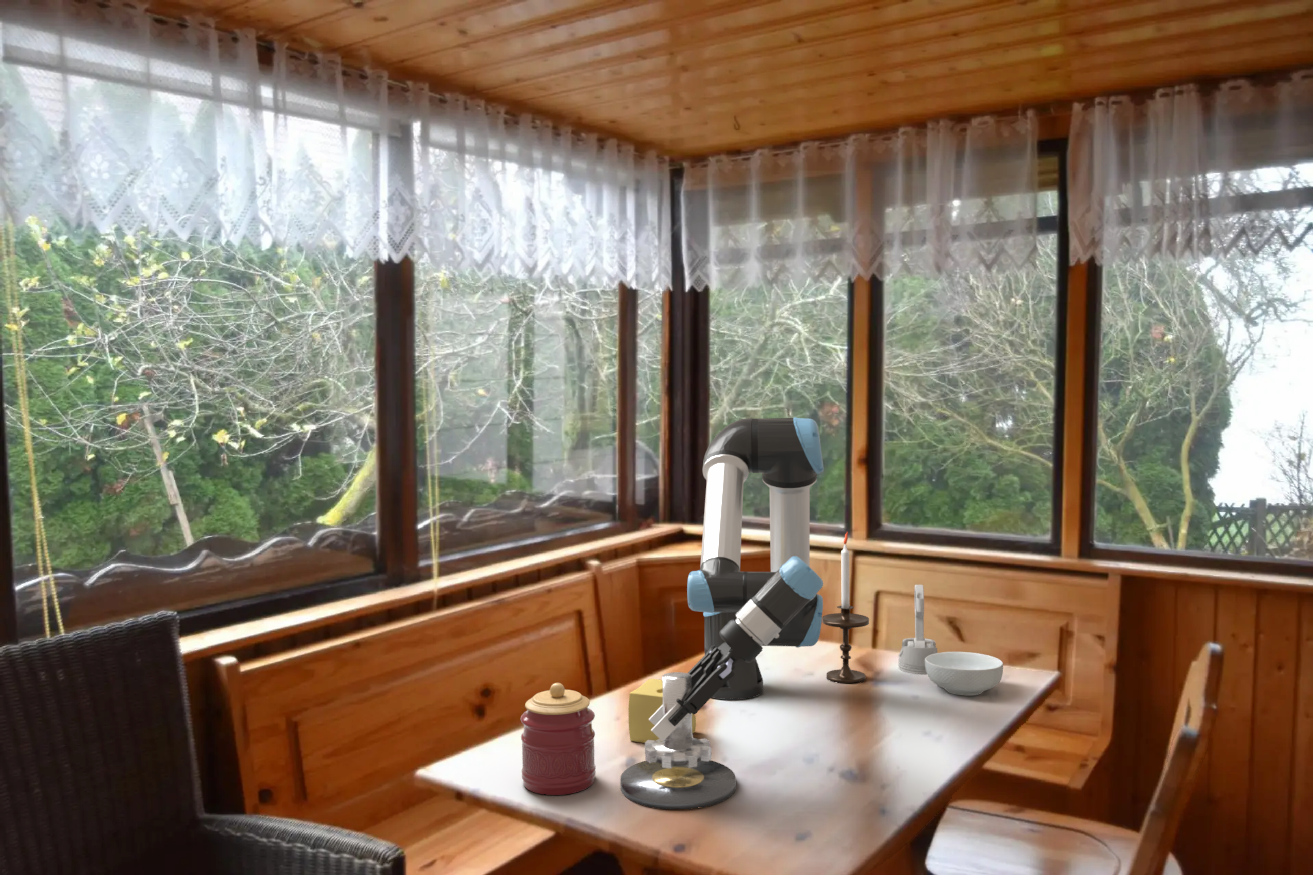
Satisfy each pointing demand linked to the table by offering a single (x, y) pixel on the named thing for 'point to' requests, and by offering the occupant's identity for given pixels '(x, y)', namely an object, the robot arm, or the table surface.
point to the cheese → (646, 710)
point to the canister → (558, 742)
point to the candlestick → (845, 626)
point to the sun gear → (677, 730)
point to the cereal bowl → (964, 671)
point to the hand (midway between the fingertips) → (655, 729)
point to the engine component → (916, 640)
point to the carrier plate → (678, 785)
